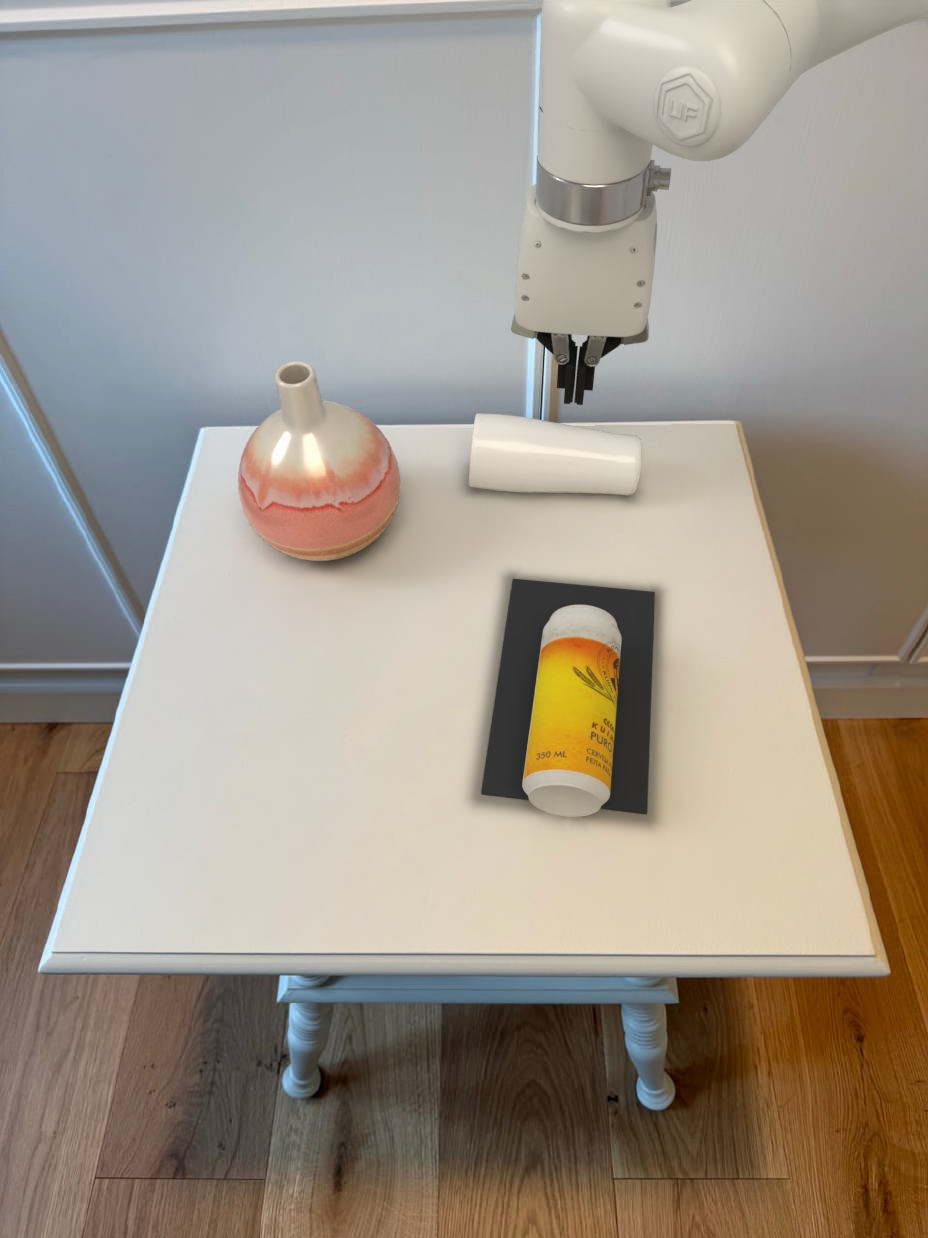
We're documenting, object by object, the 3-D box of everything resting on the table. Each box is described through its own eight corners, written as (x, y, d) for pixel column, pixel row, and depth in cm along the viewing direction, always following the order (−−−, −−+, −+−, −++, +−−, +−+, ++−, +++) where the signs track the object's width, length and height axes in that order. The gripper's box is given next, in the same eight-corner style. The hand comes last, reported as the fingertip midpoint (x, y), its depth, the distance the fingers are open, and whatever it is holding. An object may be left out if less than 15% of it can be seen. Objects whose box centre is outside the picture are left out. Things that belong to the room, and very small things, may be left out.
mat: (654, 594, 78) (655, 591, 77) (646, 814, 66) (647, 812, 66) (512, 581, 79) (512, 578, 79) (481, 794, 68) (481, 792, 67)
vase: (375, 456, 88) (350, 297, 74) (429, 556, 81) (412, 401, 67) (237, 502, 86) (183, 346, 71) (280, 610, 78) (229, 459, 64)
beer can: (607, 784, 60) (621, 602, 69) (515, 778, 62) (540, 600, 70) (611, 823, 65) (623, 648, 74) (526, 816, 66) (548, 645, 75)
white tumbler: (646, 460, 78) (470, 443, 78) (632, 519, 83) (467, 502, 84) (644, 412, 82) (478, 396, 83) (631, 471, 87) (474, 455, 88)
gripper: (703, 158, 64) (665, 370, 79) (489, 149, 65) (492, 358, 80) (703, 219, 59) (663, 431, 74) (474, 207, 61) (480, 417, 76)
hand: (574, 393), depth 77 cm, fingers closed
